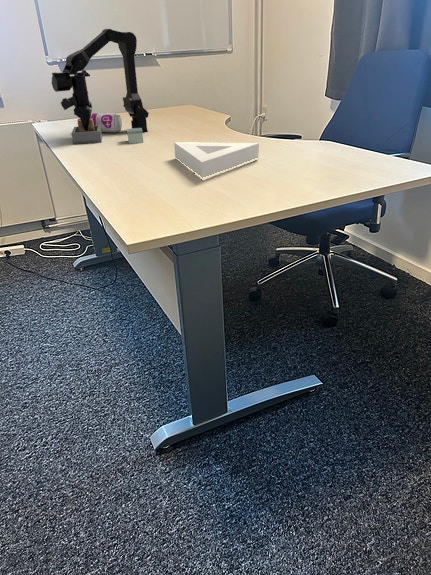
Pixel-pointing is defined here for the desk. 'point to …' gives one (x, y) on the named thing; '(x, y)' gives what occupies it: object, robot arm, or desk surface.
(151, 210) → the desk surface
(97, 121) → the supplement can
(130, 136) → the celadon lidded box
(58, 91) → the robot arm
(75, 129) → the tote
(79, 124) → the walnut block
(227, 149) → the triangle block
